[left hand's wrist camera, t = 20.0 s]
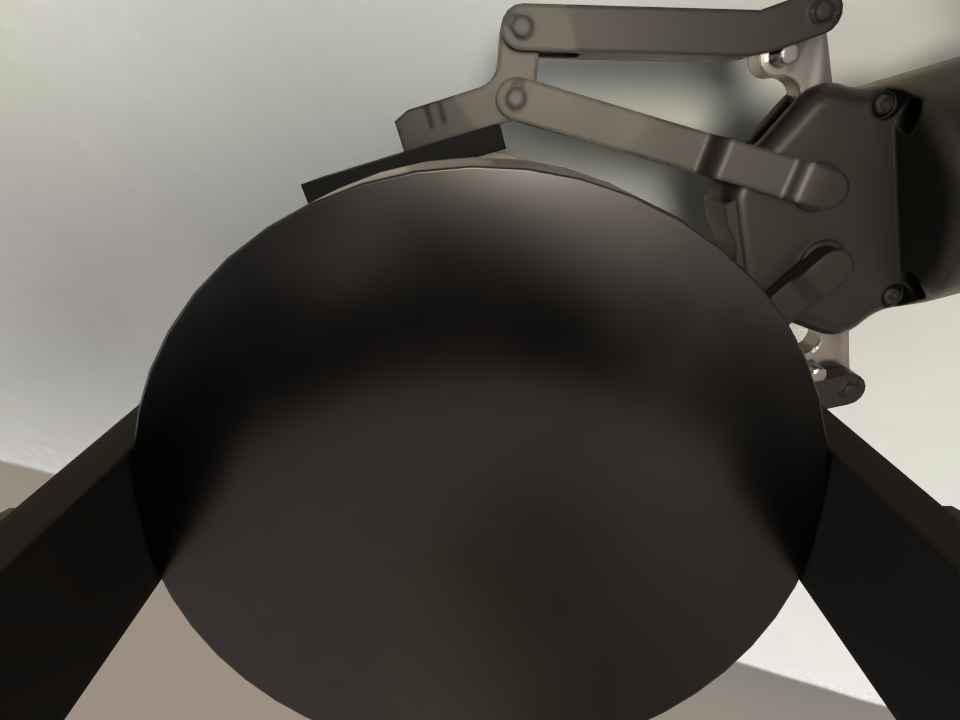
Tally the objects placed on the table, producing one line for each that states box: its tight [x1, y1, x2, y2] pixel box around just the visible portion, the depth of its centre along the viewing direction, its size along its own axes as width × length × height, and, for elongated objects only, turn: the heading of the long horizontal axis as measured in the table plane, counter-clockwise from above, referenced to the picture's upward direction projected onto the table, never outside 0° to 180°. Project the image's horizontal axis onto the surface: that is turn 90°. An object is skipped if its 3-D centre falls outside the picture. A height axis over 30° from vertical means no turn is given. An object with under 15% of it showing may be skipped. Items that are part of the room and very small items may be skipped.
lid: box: [133, 157, 827, 720], centre depth 11 cm, size 12×12×2 cm
